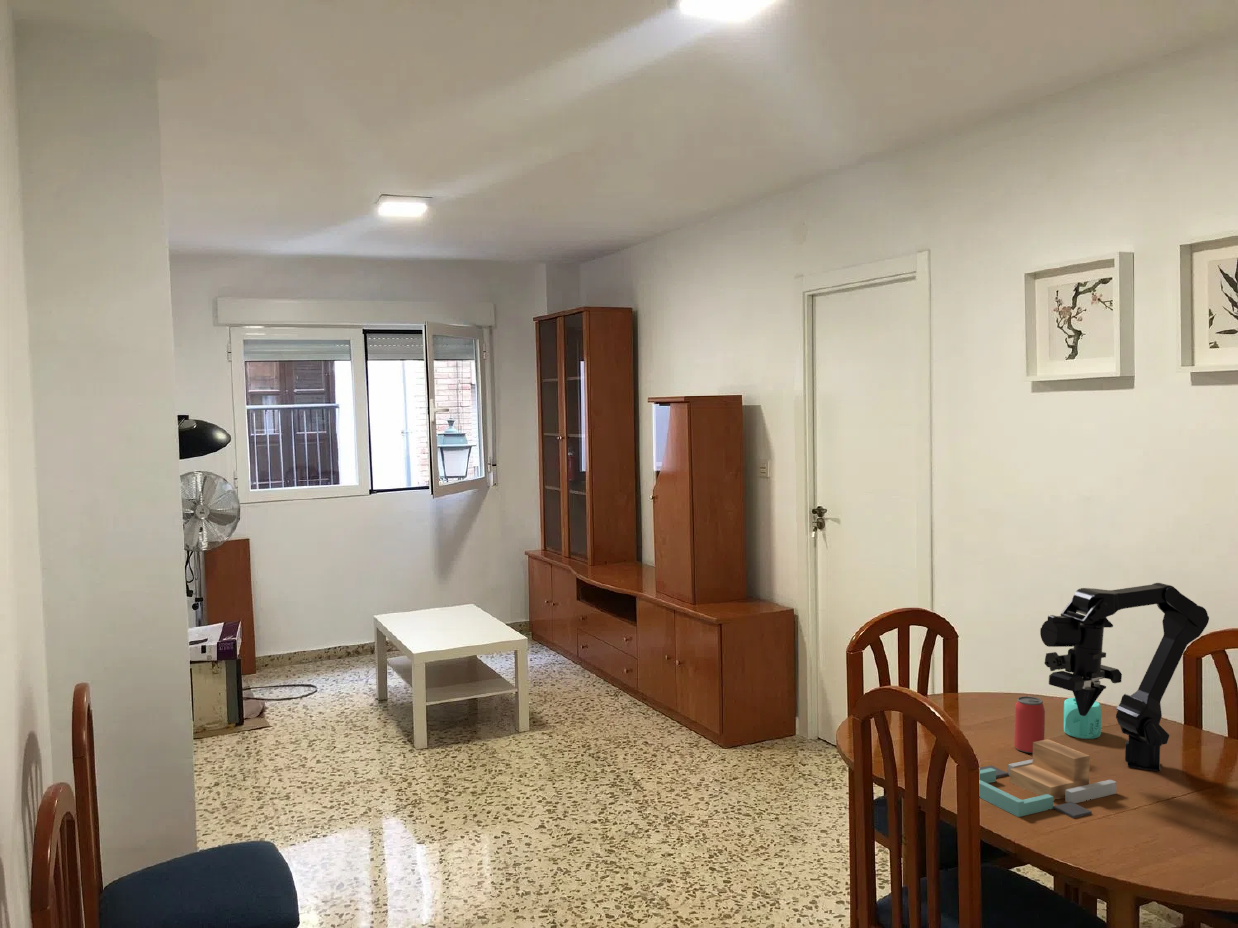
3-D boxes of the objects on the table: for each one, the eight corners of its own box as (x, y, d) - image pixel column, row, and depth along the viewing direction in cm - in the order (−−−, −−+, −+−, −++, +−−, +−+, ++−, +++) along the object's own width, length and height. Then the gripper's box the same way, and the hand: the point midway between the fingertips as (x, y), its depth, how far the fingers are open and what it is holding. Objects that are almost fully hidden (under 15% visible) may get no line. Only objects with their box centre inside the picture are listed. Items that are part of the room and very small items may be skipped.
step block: (1047, 774, 216) (1048, 739, 216) (1088, 792, 206) (1089, 755, 206) (1009, 782, 212) (1010, 746, 211) (1050, 801, 202) (1051, 763, 201)
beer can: (1047, 754, 228) (1048, 704, 227) (1017, 753, 229) (1018, 703, 228) (1040, 745, 234) (1041, 696, 233) (1011, 743, 235) (1012, 694, 234)
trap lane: (1034, 758, 226) (1034, 745, 225) (1137, 802, 201) (1137, 788, 201) (941, 777, 215) (941, 764, 214) (1037, 826, 190) (1038, 811, 190)
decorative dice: (1064, 736, 240) (1065, 705, 239) (1063, 726, 247) (1064, 695, 246) (1100, 740, 236) (1101, 708, 236) (1098, 730, 244) (1099, 699, 243)
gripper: (1079, 634, 227) (1074, 700, 228) (1029, 641, 217) (1024, 710, 218) (1125, 645, 218) (1120, 713, 219) (1075, 653, 208) (1070, 724, 209)
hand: (1082, 715), depth 216 cm, fingers closed
